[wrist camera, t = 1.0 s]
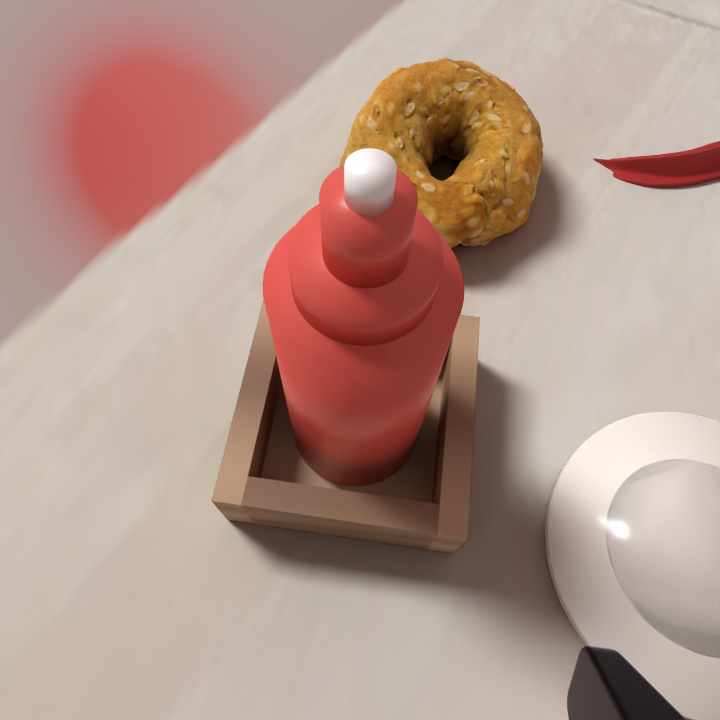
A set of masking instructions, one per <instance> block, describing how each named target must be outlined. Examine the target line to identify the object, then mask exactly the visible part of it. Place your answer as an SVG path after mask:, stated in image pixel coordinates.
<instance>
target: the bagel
mask: <svg viewBox="0 0 720 720" xmlns="http://www.w3.org/2000/svg"><path fill="white" fill-rule="evenodd" d="M365 148H373V149H379V150H382V151H384V152H386V153H388V154H389V155H390V156H391V157H392V158H393V159H394V161H395V163H396V166H397V169H399V170H401V171H402V172H403V173H405V174H406V175H407V176H408V177H409V178H410V179H411V181H412V182H413V184H414V186H415V188H416V190H417V194H418V205H417V210H418V211H420V212H421V213H422V214H423V215H424V216H425V217H426V218H427V219H428V220H429V221H430V222H431V224H432V225H433V226H434V228H435V229H436V231H437V233H438V234H439V235H440V236H441V237H442V238H443V239H444V240H445V241H446V243H447V244H448V245H449V247H450V248H452V247H454V246H456V245H458V244H462V245H464V246H472V247H474V246H476V245H482V246H484V245H486V244H488V243H489V242H490V241H491V240H493V239H494V238H496V237H500V236H501V235H504V234H506V233H512V232H513V231H514V230H516V229H517V228H519V227H520V226H522V225H523V224H524V223H525V222H526V221H527V220H528V217H529V213H530V207H531V204H532V201H533V200H534V198H535V195H536V186H537V183H538V179H539V175H540V173H541V171H542V157H543V152H542V148H543V142H542V138H541V130H540V126H539V123H538V121H537V120H536V118H535V117H534V115H533V113H532V111H531V110H530V109H529V107H528V106H527V104H526V103H525V101H524V100H523V99H522V97H521V96H520V95H519V94H518V93H517V92H516V91H515V89H514V88H513V87H511V86H510V85H509V84H507V83H506V82H504V81H501V80H500V79H499V78H498V77H497V76H496V75H494V74H492V73H488V72H487V71H486V70H483V69H481V68H480V67H479V66H477V65H476V64H474V63H472V62H468V61H454V60H450V59H446V58H443V59H442V58H441V59H439V60H438V61H435V62H426V63H421V64H415V65H412V66H410V67H408V68H397V69H396V70H395V71H394V72H392V73H391V74H390V75H389V77H388V78H386V79H384V80H383V81H382V82H381V83H380V84H379V86H378V87H377V88H376V89H375V91H374V92H373V95H372V96H371V97H370V99H369V100H368V102H367V103H366V104H365V106H364V107H363V108H362V109H361V111H360V112H359V113H358V115H357V117H356V119H355V121H354V123H353V126H352V130H351V133H350V135H349V139H348V144H347V146H346V148H345V151H344V155H343V157H342V158H341V162H340V167H341V166H343V165H344V164H345V161H346V159H347V158H348V156H349V155H351V154H352V153H353V152H355V151H357V150H360V149H365ZM443 154H445V155H447V156H448V157H449V158H451V159H453V160H459V161H461V162H460V164H459V165H458V167H457V168H456V171H455V172H454V175H452V176H451V177H449V178H448V179H446V180H444V181H441V180H437V179H436V178H434V177H433V176H431V174H430V172H429V169H430V167H431V165H432V162H433V161H435V160H437V159H439V157H440V156H442V155H443Z"/></svg>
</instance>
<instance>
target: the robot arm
mask: <svg viewBox="0 0 720 720" xmlns="http://www.w3.org/2000/svg"><path fill="white" fill-rule="evenodd" d="M567 709H568V717H569V720H686V719H685V718H684V717H683V716H682V715H681V714H680V713H679V712H678V711H677V710H676V709H675V708H674V707H673V706H672V705H671V704H670V703H669V702H668V701H667V700H666V699H665V698H664V697H663V696H662V695H661V694H660V693H659V692H658V691H657V690H656V689H655V688H654V687H653V686H652V685H651V684H650V683H649V682H648V681H647V680H646V679H645V678H644V677H643V676H642V675H641V674H640V673H639V672H638V671H637V670H636V669H635V668H634V667H633V666H632V665H631V664H630V663H629V662H628V661H627V660H626V659H625V658H624V657H623V656H622V655H621V654H620V653H619V652H617V651H616V650H613V649H609V648H602V647H594V646H585V647H583V648H582V650H581V651H580V653H579V656H578V660H577V663H576V666H575V670H574V673H573V677H572V680H571V683H570V687H569V690H568V696H567Z"/></svg>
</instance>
